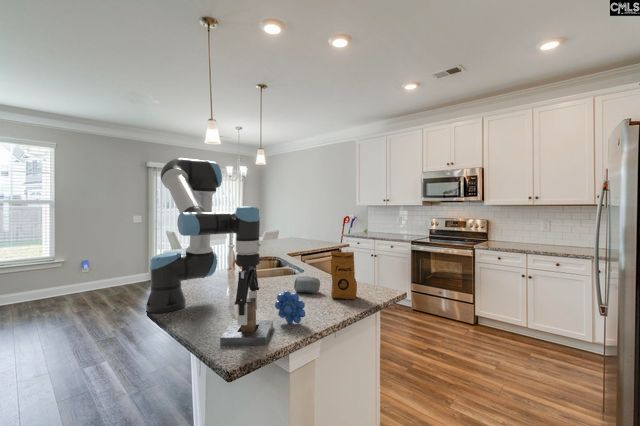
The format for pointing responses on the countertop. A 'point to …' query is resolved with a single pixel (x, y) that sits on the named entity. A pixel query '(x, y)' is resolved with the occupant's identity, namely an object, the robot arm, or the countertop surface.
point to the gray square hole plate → (247, 334)
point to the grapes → (290, 307)
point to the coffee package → (343, 276)
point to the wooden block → (250, 316)
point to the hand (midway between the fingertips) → (248, 316)
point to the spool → (307, 284)
